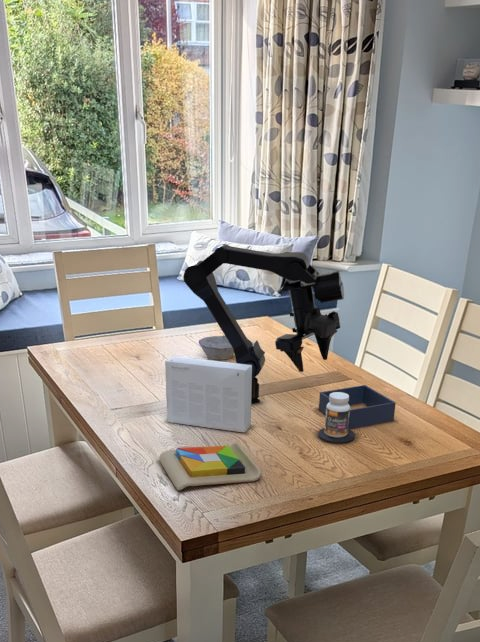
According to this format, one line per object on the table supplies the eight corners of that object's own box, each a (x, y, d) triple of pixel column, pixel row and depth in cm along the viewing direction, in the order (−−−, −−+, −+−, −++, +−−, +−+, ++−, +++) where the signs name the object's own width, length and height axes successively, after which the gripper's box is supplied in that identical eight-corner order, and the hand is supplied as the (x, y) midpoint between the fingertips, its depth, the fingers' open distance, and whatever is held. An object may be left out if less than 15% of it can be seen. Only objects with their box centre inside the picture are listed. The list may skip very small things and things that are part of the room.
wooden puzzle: (263, 480, 162) (263, 466, 160) (178, 494, 156) (178, 479, 154) (236, 448, 176) (236, 434, 174) (157, 459, 170) (157, 445, 169)
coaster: (329, 446, 177) (330, 444, 177) (311, 432, 184) (311, 430, 184) (362, 440, 181) (362, 438, 180) (342, 426, 188) (342, 424, 187)
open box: (346, 429, 186) (348, 410, 184) (318, 410, 197) (319, 392, 195) (393, 420, 191) (395, 402, 189) (363, 402, 202) (365, 384, 200)
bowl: (197, 350, 241) (197, 335, 239) (237, 349, 242) (237, 334, 240) (200, 363, 230) (199, 347, 227) (241, 362, 231) (241, 346, 229)
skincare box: (252, 425, 188) (253, 364, 180) (245, 433, 183) (245, 371, 176) (174, 414, 194) (172, 354, 186) (166, 422, 189) (163, 361, 181)
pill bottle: (325, 438, 180) (328, 399, 175) (323, 429, 185) (325, 390, 180) (349, 438, 180) (352, 399, 175) (346, 429, 185) (349, 391, 180)
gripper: (301, 317, 176) (312, 380, 183) (352, 295, 186) (360, 355, 193) (268, 316, 184) (280, 377, 191) (319, 295, 194) (328, 353, 201)
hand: (313, 365), depth 194 cm, fingers open, 9 cm apart
